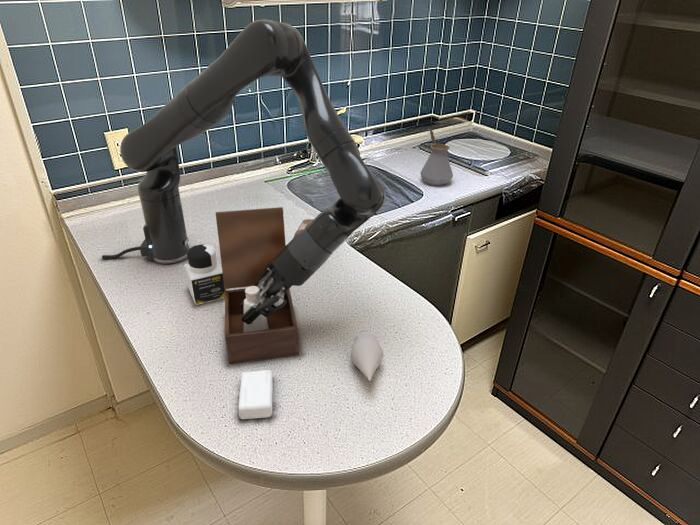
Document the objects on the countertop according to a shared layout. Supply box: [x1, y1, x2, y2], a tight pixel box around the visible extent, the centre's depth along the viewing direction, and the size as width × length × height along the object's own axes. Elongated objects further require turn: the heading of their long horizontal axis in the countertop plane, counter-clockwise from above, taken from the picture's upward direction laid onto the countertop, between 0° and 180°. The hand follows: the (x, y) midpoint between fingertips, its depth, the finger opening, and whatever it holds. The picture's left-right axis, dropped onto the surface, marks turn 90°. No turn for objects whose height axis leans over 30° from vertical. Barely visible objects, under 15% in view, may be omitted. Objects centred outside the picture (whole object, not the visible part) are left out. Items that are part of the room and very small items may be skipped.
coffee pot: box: [419, 128, 454, 187], centre depth 177 cm, size 21×12×15 cm, turn 4°
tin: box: [293, 218, 315, 238], centre depth 128 cm, size 15×3×8 cm, turn 168°
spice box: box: [224, 287, 300, 365], centre depth 100 cm, size 15×13×7 cm
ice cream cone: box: [350, 330, 384, 382], centre depth 92 cm, size 6×6×15 cm
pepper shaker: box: [243, 286, 269, 332], centre depth 98 cm, size 5×5×11 cm
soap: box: [237, 369, 274, 420], centre depth 86 cm, size 9×6×3 cm, turn 7°
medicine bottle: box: [184, 243, 227, 306], centre depth 111 cm, size 7×7×12 cm
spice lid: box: [215, 206, 287, 290], centre depth 102 cm, size 16×13×1 cm
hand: (244, 314), depth 98 cm, fingers closed on pepper shaker, 3 cm apart
